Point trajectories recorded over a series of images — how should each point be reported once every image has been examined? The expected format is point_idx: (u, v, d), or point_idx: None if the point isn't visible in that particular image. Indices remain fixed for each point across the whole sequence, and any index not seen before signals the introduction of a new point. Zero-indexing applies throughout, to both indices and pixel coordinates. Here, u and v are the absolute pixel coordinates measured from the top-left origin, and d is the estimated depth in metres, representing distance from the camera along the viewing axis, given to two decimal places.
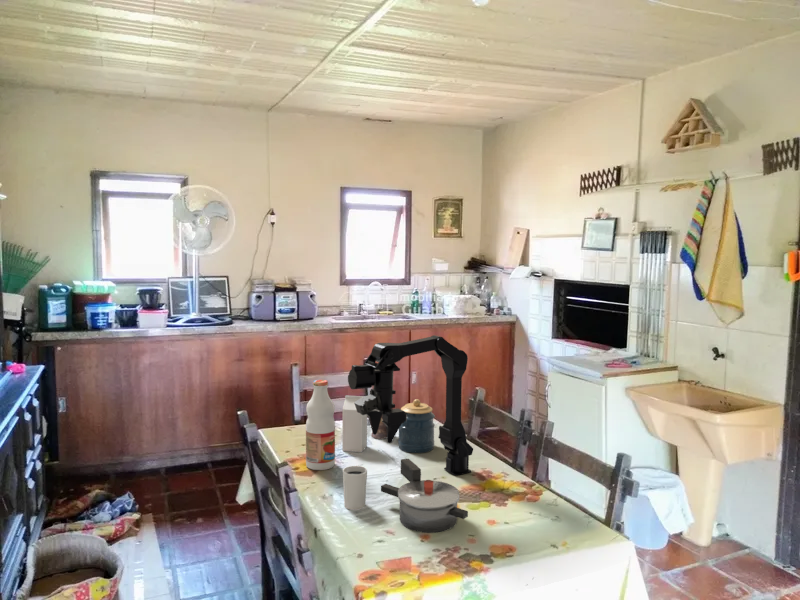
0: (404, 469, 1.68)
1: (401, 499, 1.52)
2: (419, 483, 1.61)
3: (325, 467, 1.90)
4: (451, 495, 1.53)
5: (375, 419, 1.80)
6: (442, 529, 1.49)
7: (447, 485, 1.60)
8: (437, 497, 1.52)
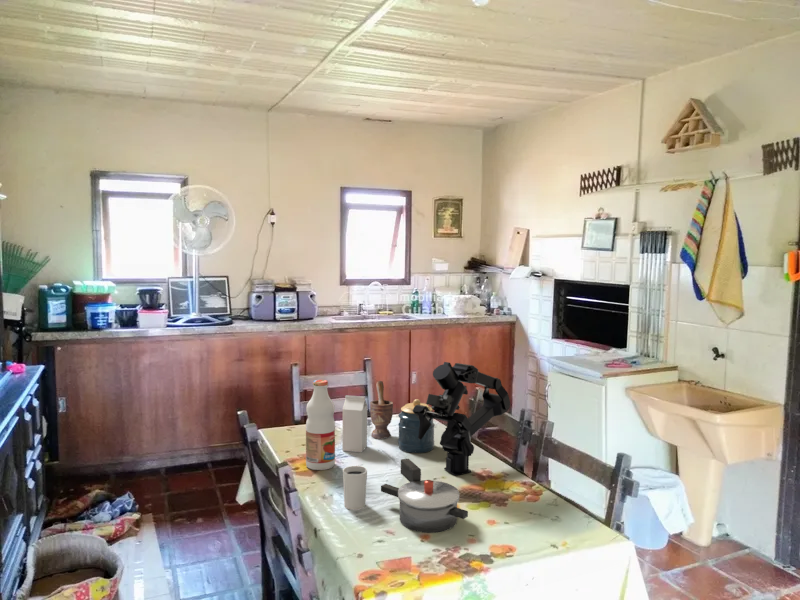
0: (404, 469, 1.68)
1: (401, 499, 1.52)
2: (419, 483, 1.61)
3: (325, 467, 1.90)
4: (451, 495, 1.53)
5: (425, 426, 1.83)
6: (442, 529, 1.49)
7: (447, 485, 1.60)
8: (437, 497, 1.52)
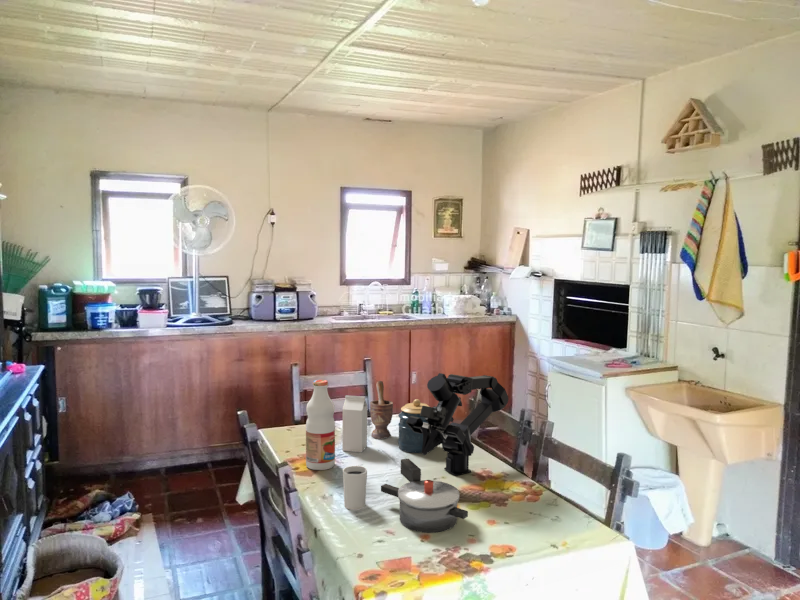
0: (404, 469, 1.68)
1: (401, 499, 1.52)
2: (419, 483, 1.61)
3: (325, 467, 1.90)
4: (451, 495, 1.53)
5: None
6: (442, 529, 1.49)
7: (447, 485, 1.60)
8: (437, 497, 1.52)
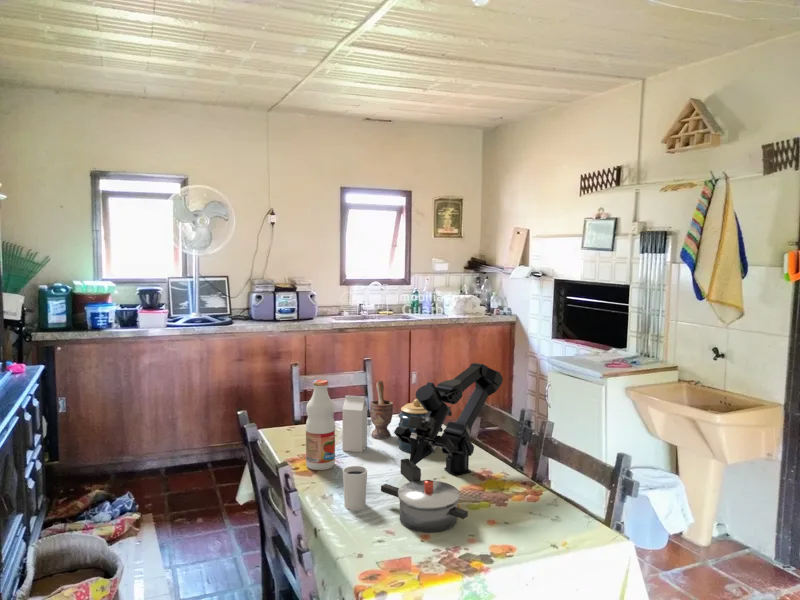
0: (404, 469, 1.68)
1: (401, 499, 1.52)
2: (419, 483, 1.61)
3: (325, 467, 1.90)
4: (451, 495, 1.53)
5: None
6: (442, 529, 1.49)
7: (447, 485, 1.60)
8: (437, 497, 1.52)
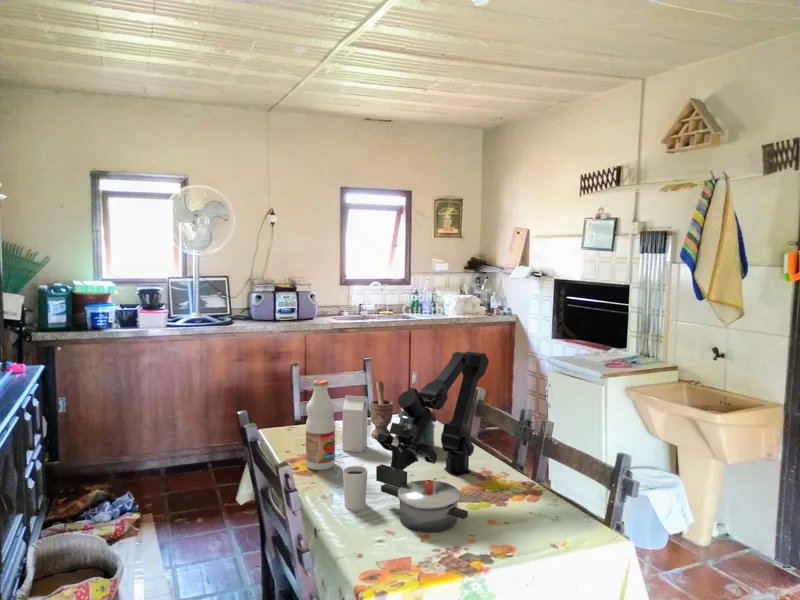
0: (383, 475, 1.63)
1: (412, 504, 1.49)
2: (410, 485, 1.59)
3: (325, 467, 1.90)
4: (451, 490, 1.57)
5: (398, 459, 1.68)
6: (442, 529, 1.49)
7: (436, 482, 1.62)
8: (442, 494, 1.54)
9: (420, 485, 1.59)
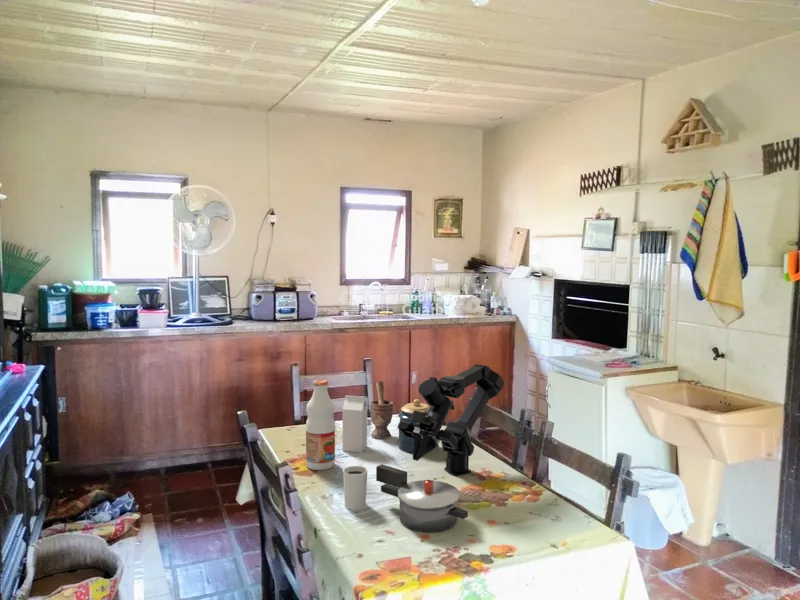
0: (383, 475, 1.63)
1: (412, 504, 1.49)
2: (410, 485, 1.59)
3: (325, 467, 1.90)
4: (451, 490, 1.57)
5: (420, 446, 1.75)
6: (442, 529, 1.49)
7: (436, 482, 1.62)
8: (442, 494, 1.54)
9: (420, 485, 1.59)
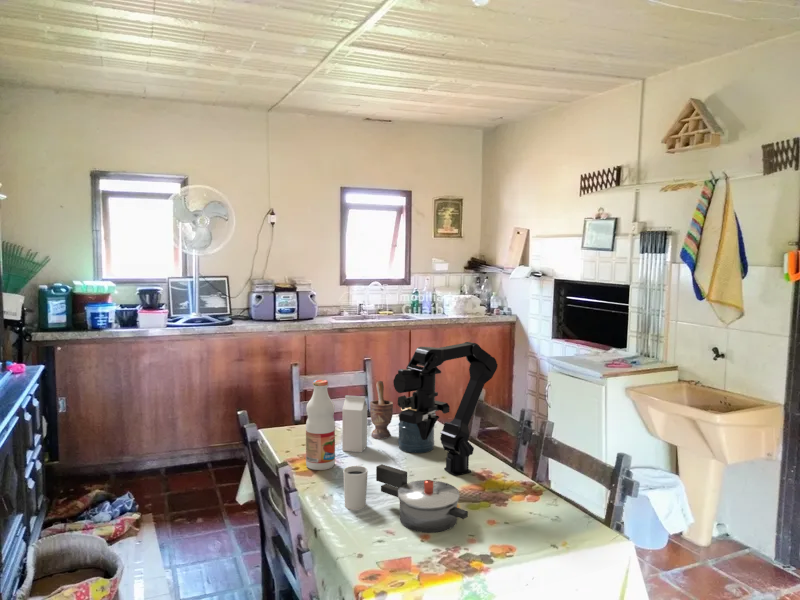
0: (383, 475, 1.63)
1: (412, 504, 1.49)
2: (410, 485, 1.59)
3: (325, 467, 1.90)
4: (451, 490, 1.57)
5: None
6: (442, 529, 1.49)
7: (436, 482, 1.62)
8: (442, 494, 1.54)
9: (420, 485, 1.59)
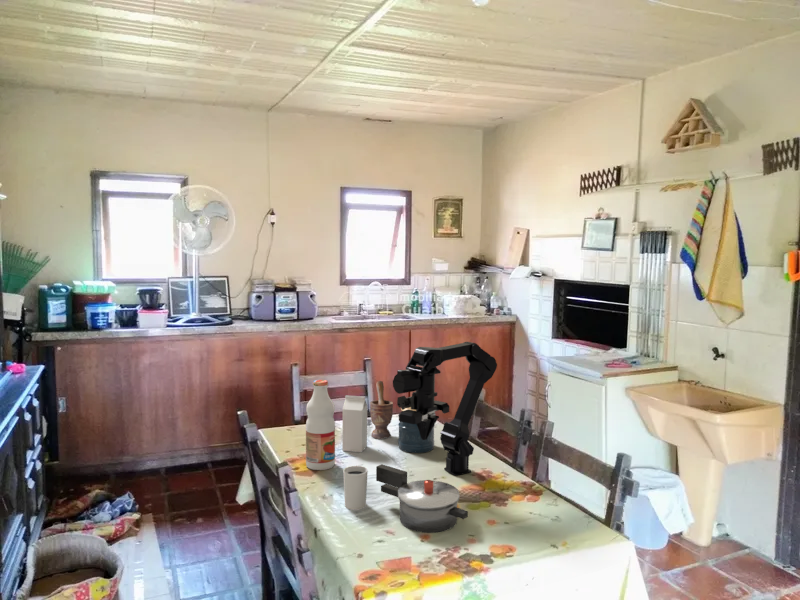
0: (383, 475, 1.63)
1: (412, 504, 1.49)
2: (410, 485, 1.59)
3: (325, 467, 1.90)
4: (451, 490, 1.57)
5: None
6: (442, 529, 1.49)
7: (436, 482, 1.62)
8: (442, 494, 1.54)
9: (420, 485, 1.59)
